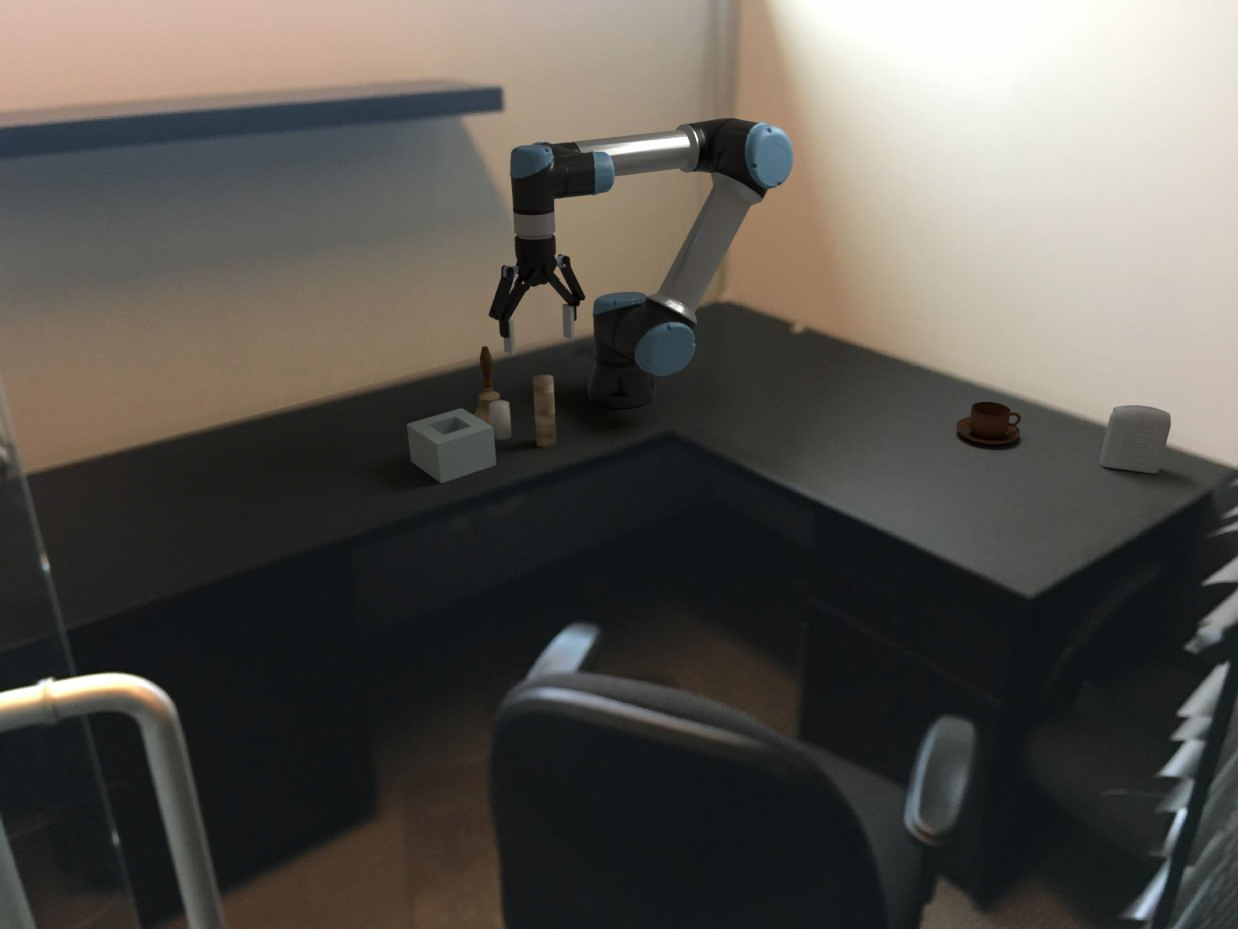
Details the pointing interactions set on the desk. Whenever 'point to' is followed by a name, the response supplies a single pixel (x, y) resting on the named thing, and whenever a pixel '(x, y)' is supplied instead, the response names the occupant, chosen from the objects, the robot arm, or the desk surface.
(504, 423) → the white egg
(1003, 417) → the cup and saucer
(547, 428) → the long pin
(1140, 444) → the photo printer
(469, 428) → the hole block
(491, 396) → the hand bell
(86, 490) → the desk surface
